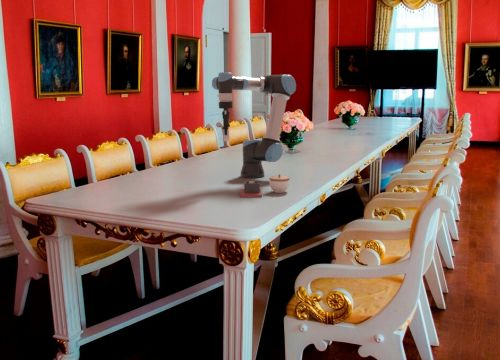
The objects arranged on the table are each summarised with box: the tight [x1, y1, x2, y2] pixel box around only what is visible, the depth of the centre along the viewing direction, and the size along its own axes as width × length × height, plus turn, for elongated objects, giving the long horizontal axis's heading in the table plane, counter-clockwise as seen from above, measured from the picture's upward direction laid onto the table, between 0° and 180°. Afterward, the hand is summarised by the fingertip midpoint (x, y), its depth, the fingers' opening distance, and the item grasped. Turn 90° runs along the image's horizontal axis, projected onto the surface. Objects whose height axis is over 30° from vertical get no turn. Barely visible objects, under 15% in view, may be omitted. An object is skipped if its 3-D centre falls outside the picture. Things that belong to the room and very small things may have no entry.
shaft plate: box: [240, 180, 263, 198], centre depth 277 cm, size 16×11×7 cm
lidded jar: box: [269, 173, 291, 194], centre depth 282 cm, size 11×11×9 cm
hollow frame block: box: [243, 180, 261, 193], centre depth 277 cm, size 8×7×5 cm
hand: (226, 139), depth 292 cm, fingers open, 13 cm apart
